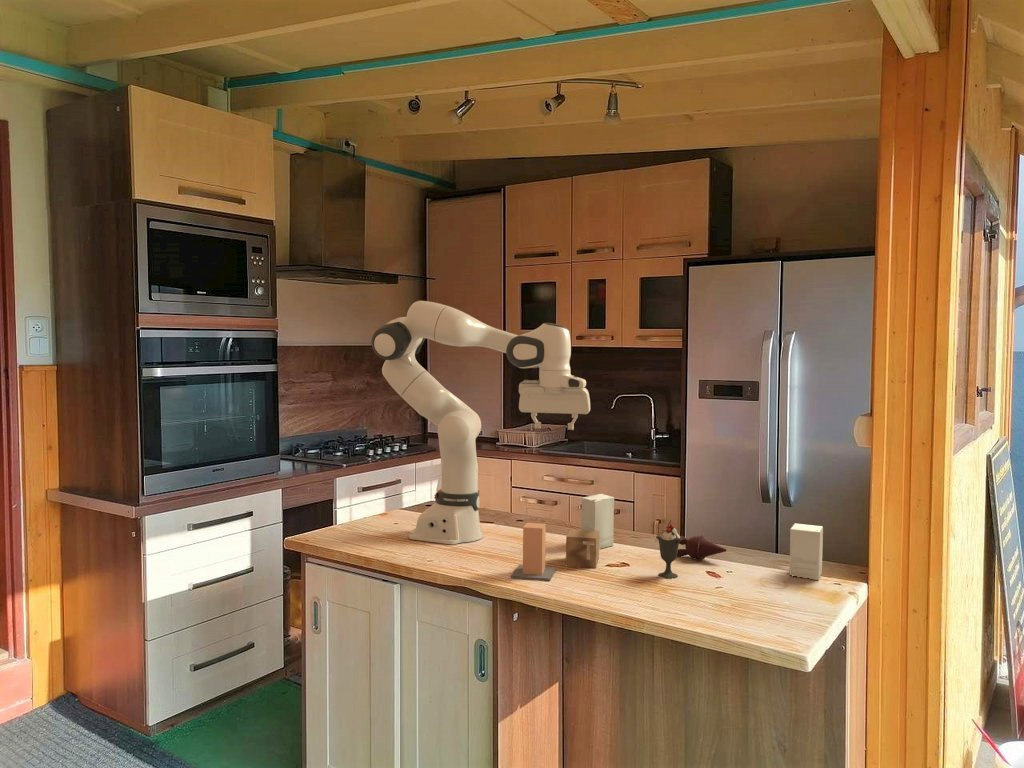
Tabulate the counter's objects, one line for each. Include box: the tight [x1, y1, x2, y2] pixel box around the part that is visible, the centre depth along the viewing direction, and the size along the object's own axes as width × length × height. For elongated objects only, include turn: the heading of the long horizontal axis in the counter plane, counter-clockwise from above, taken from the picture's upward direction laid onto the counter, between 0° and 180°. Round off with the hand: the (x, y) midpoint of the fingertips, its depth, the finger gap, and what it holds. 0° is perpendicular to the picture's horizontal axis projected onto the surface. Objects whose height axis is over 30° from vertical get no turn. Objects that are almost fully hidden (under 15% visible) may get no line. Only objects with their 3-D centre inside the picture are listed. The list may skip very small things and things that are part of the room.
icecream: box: [677, 534, 727, 562], centre depth 219 cm, size 7×7×15 cm
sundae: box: [655, 519, 682, 580], centre depth 203 cm, size 7×7×15 cm
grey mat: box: [510, 564, 557, 582], centre depth 204 cm, size 10×10×1 cm
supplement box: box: [789, 523, 824, 581], centre depth 206 cm, size 7×7×13 cm
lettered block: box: [565, 529, 600, 569], centre depth 214 cm, size 8×8×8 cm
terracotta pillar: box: [522, 522, 547, 575], centre depth 204 cm, size 5×5×12 cm
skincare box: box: [580, 493, 615, 550], centre depth 231 cm, size 8×6×15 cm
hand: (554, 429), depth 224 cm, fingers open, 8 cm apart
